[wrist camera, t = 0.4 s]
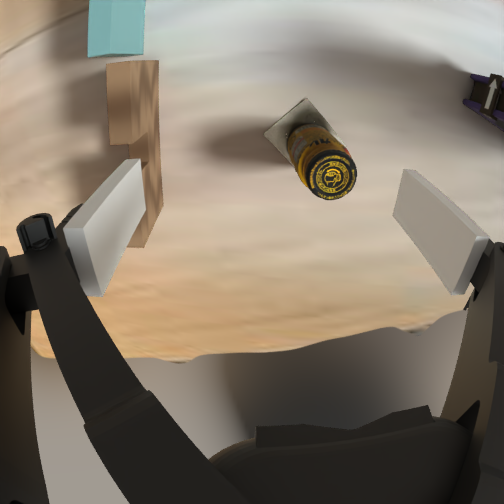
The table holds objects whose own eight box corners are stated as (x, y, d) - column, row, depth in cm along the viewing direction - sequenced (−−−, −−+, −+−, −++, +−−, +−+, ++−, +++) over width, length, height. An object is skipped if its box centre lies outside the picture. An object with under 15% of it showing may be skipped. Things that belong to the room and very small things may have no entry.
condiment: (304, 179, 42) (325, 221, 32) (262, 133, 39) (271, 161, 29) (346, 146, 40) (380, 178, 30) (306, 97, 36) (332, 112, 26)
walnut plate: (140, 62, 32) (106, 64, 23) (158, 60, 33) (130, 60, 23) (147, 205, 43) (124, 247, 34) (163, 205, 44) (143, 247, 34)
